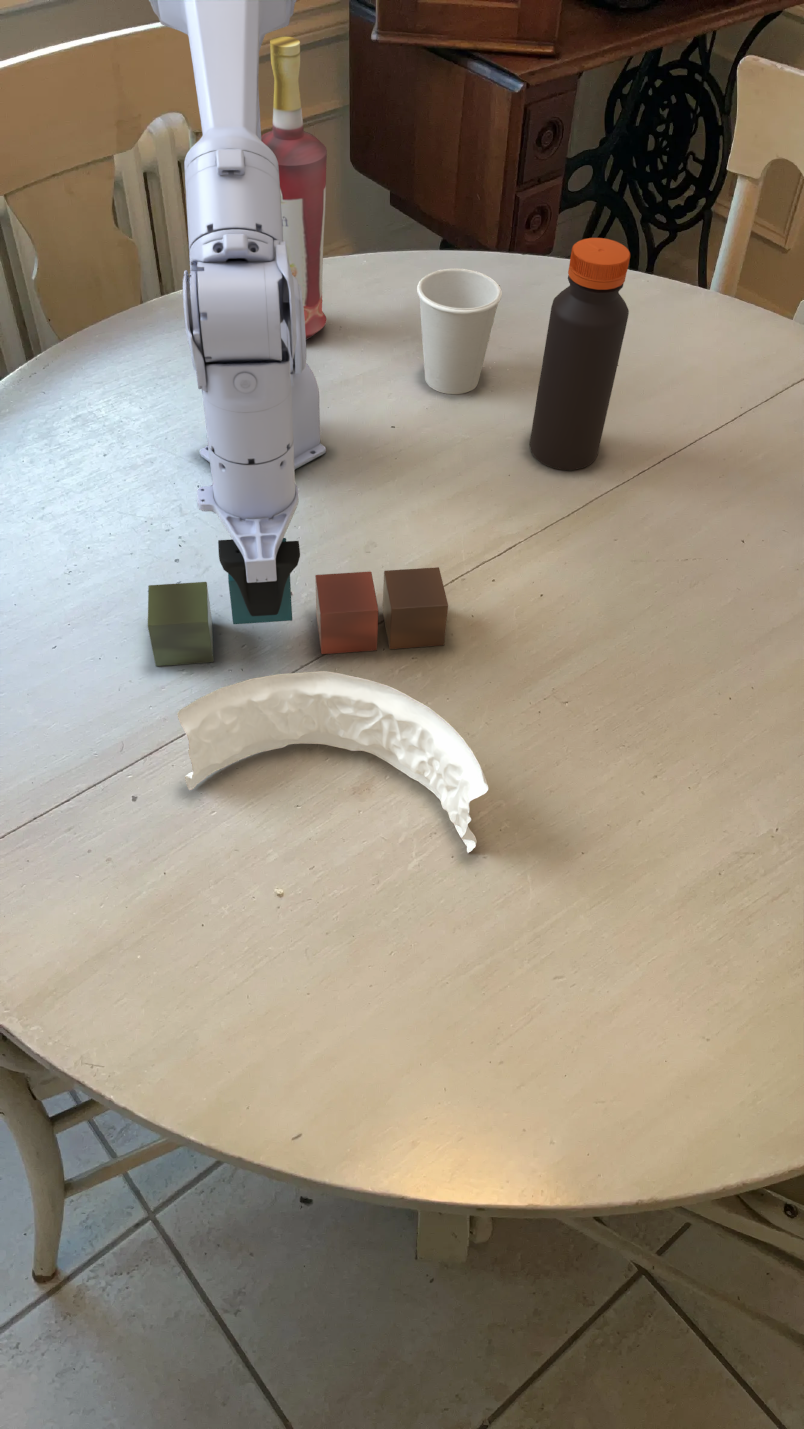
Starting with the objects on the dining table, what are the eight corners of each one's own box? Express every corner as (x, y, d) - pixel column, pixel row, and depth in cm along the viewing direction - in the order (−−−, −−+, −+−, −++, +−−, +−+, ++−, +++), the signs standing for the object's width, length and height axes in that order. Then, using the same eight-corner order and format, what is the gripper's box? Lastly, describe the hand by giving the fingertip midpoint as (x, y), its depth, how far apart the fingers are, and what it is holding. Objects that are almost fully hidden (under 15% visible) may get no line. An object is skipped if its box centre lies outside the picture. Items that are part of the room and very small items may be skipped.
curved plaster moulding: (481, 856, 72) (489, 777, 66) (186, 884, 70) (168, 805, 64) (454, 736, 80) (460, 655, 74) (189, 758, 78) (173, 677, 72)
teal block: (288, 581, 83) (285, 537, 80) (292, 620, 81) (290, 576, 77) (231, 584, 83) (226, 540, 80) (233, 624, 80) (228, 580, 77)
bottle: (519, 460, 102) (550, 259, 87) (540, 423, 106) (573, 225, 91) (587, 479, 100) (630, 277, 85) (605, 441, 105) (650, 242, 89)
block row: (435, 607, 88) (439, 566, 85) (444, 645, 85) (448, 605, 82) (156, 626, 85) (148, 584, 82) (155, 666, 82) (147, 625, 79)
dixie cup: (449, 348, 114) (456, 259, 107) (507, 380, 111) (519, 290, 103) (395, 377, 110) (399, 286, 103) (454, 411, 107) (462, 319, 99)
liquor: (342, 330, 116) (342, 43, 95) (295, 355, 112) (284, 62, 91) (295, 306, 119) (285, 22, 98) (247, 329, 115) (226, 39, 94)
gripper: (188, 381, 75) (207, 531, 85) (191, 510, 65) (211, 661, 76) (288, 377, 75) (294, 526, 86) (304, 504, 66) (310, 654, 77)
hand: (262, 589), depth 81 cm, fingers closed on teal block, 4 cm apart
